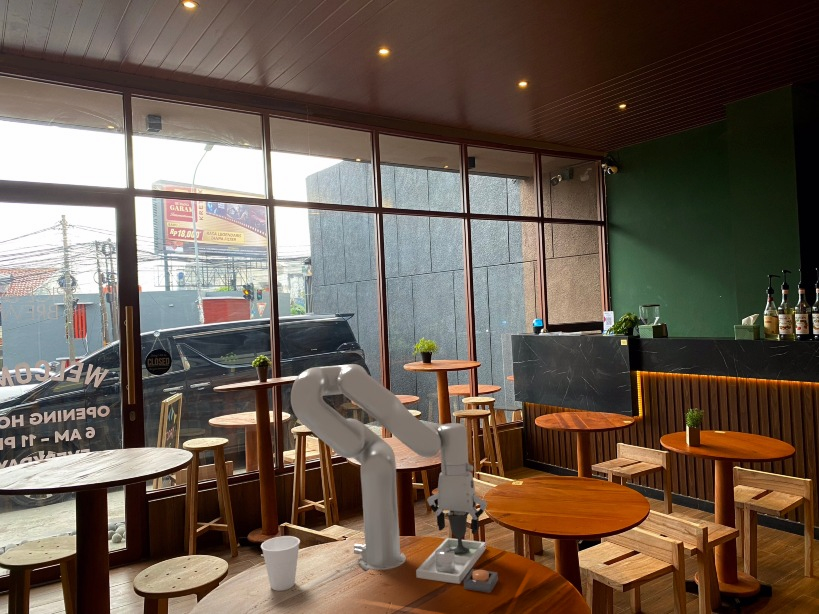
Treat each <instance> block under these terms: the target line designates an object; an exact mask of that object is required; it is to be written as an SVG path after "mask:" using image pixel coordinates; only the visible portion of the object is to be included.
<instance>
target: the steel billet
mask: <svg viewBox="0 0 819 614" xmlns="http://www.w3.org/2000/svg"><path fill="white" fill-rule="evenodd" d="M436 549H437V548H436ZM436 549H435V550H436ZM435 550H434V551H435ZM435 558H436V572H442V573H449V574H453V573H454V572H455V554H454V550H453V549H451V548H440V549H437V550H436V551H435Z"/></svg>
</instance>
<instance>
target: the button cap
mask: <svg viewBox="0 0 819 614" xmlns="http://www.w3.org/2000/svg"><path fill="white" fill-rule="evenodd" d="M488 571H489V570H485V569H475V571H473V573H472V576H473V580H478V581H485V582H487V581H488V579H489V573H488Z"/></svg>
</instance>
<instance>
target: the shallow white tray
mask: <svg viewBox="0 0 819 614" xmlns="http://www.w3.org/2000/svg"><path fill="white" fill-rule="evenodd" d="M469 543H470V544H469ZM462 544H463V546H464V547H465V548H469V551H468V552H464V553H454V554H455V572H454V573H453V574H449V573H442V572H436V558H435V551H436V550H437V549H440V548H451V549H455V548H457V546H458V539H457V538H449V537H446V538H445V539H444V540H443V541H442V542H441V544H439V545H438V547H436V549H435V550H434V551H433V552H432V553H431V554H430V555H429V556H428V557H427V558H426V559H425V560H424V561H423V562H422V563H421V565H420V566H419V567H418V568H417V569H416V570H415V572H416V573H415V575H416V576H415V577H416V579H417V578H418V579H425V580H429V581H430V580H431V581H436V582H437V581H438V582H443V583H451V584H458V585H460V584H461V583H462V581H464V579H465V578H466V576H467V575H468V574H469V572H470V571H471V570H472V569H473V567H474V565H475V564H476V563H477V561H478V560H479V558H480V557H481V556H482V555H483V553H484V552H485V551H486V548H487V547H486V542H484V541H477V540H469V539H467V540H466V539H462ZM484 546H485V547H484Z"/></svg>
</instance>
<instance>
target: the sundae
mask: <svg viewBox="0 0 819 614" xmlns="http://www.w3.org/2000/svg"><path fill="white" fill-rule="evenodd" d="M468 515H470V514H469V513H468V512H459V511H448V512H446V513H445V516H446V517H448V521H449V527H450V531H451V533H452V534H451V535H453V536H454V537H455V538H456V539H458V546H457V548H455V549H453V550H454V553H464V552H468V551H469V548H465V547H464V546H463V544H462V540H463V537H465V534H466V533H467V519H468Z"/></svg>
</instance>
